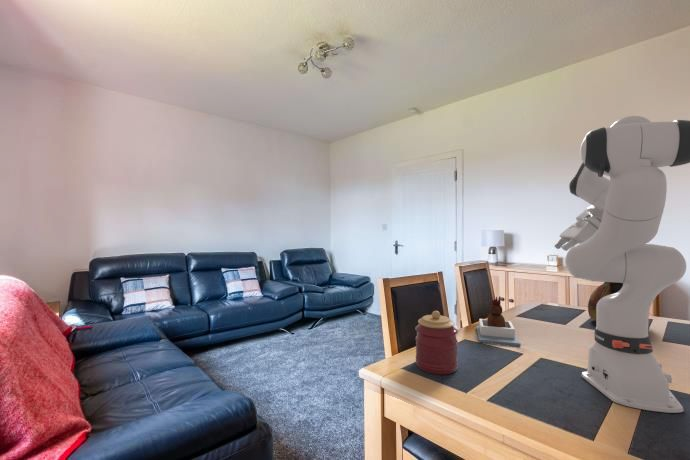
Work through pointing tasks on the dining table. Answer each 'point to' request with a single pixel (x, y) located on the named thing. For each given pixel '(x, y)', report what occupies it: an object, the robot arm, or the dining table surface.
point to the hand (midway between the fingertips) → (559, 248)
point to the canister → (436, 344)
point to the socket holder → (497, 334)
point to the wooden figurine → (496, 314)
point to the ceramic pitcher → (601, 295)
